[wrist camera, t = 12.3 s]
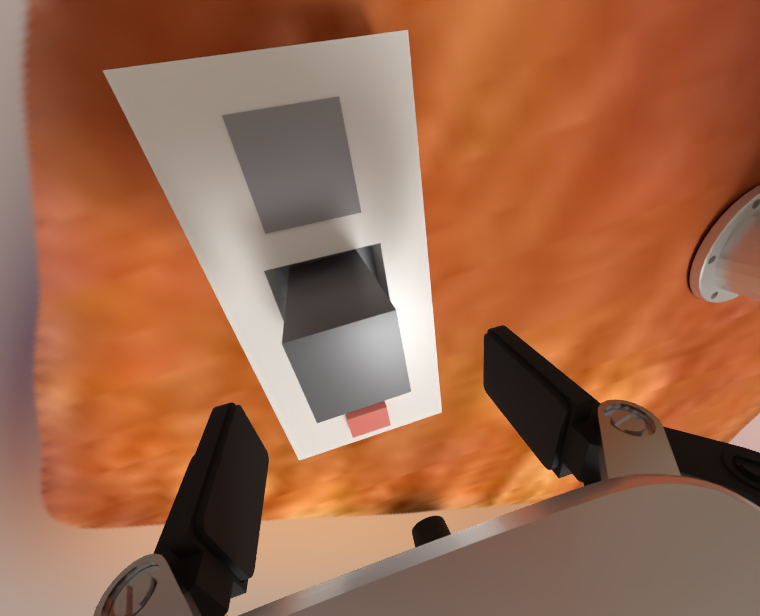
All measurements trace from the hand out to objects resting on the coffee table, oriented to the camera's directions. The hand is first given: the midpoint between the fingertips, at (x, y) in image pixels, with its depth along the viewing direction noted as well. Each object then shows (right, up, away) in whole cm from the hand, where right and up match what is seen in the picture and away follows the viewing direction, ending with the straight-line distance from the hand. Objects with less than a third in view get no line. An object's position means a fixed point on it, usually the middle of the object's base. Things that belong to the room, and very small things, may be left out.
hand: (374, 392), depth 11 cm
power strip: (-3, +5, +10) cm, 12 cm away
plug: (-3, +4, +9) cm, 11 cm away
